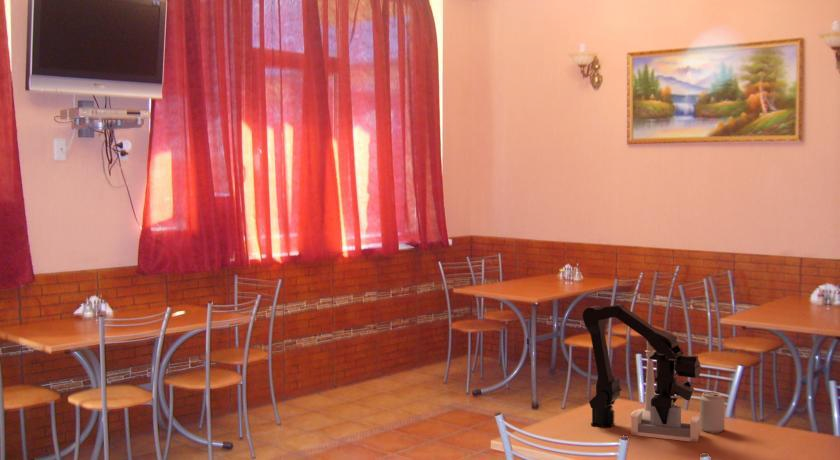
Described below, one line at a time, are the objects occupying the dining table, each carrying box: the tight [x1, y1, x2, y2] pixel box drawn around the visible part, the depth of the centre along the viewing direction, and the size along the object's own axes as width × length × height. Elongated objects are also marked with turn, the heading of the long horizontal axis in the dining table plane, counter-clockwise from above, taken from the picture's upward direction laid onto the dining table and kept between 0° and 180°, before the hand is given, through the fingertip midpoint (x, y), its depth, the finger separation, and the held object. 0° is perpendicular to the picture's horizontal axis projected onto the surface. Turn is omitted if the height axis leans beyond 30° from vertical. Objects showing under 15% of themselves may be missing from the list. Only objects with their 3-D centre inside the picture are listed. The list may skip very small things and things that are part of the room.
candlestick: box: [630, 340, 656, 420], centre depth 284 cm, size 13×13×30 cm
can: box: [699, 391, 726, 434], centre depth 269 cm, size 8×8×12 cm
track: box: [630, 409, 701, 443], centre depth 264 cm, size 20×8×6 cm, turn 65°
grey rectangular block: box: [650, 404, 682, 428], centre depth 264 cm, size 9×3×7 cm, turn 65°
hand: (665, 422), depth 264 cm, fingers closed on grey rectangular block, 3 cm apart
